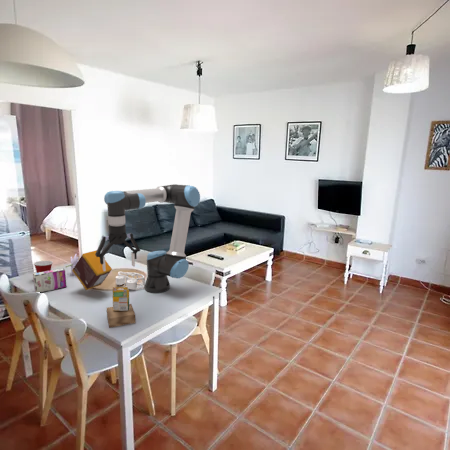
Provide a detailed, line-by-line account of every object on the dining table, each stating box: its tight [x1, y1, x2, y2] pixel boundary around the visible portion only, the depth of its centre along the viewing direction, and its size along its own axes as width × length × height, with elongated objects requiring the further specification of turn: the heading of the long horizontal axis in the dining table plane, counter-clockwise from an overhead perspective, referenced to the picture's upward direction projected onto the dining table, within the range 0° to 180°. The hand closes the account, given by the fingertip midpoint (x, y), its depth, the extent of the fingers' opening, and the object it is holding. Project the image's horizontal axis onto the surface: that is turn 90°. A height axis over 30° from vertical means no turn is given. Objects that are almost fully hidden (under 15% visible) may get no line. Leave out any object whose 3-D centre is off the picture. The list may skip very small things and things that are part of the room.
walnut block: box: [106, 303, 136, 329], centre depth 156 cm, size 12×12×5 cm
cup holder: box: [115, 271, 146, 291], centre depth 196 cm, size 20×11×7 cm, turn 54°
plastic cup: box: [32, 260, 54, 273], centre depth 202 cm, size 11×11×12 cm
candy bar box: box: [32, 267, 67, 293], centre depth 189 cm, size 11×5×16 cm
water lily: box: [65, 253, 80, 276], centre depth 210 cm, size 15×15×9 cm
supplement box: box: [72, 249, 113, 291], centre depth 183 cm, size 10×15×16 cm
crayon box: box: [112, 286, 130, 311], centre depth 156 cm, size 7×3×12 cm, turn 93°
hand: (119, 268), depth 151 cm, fingers open, 13 cm apart
